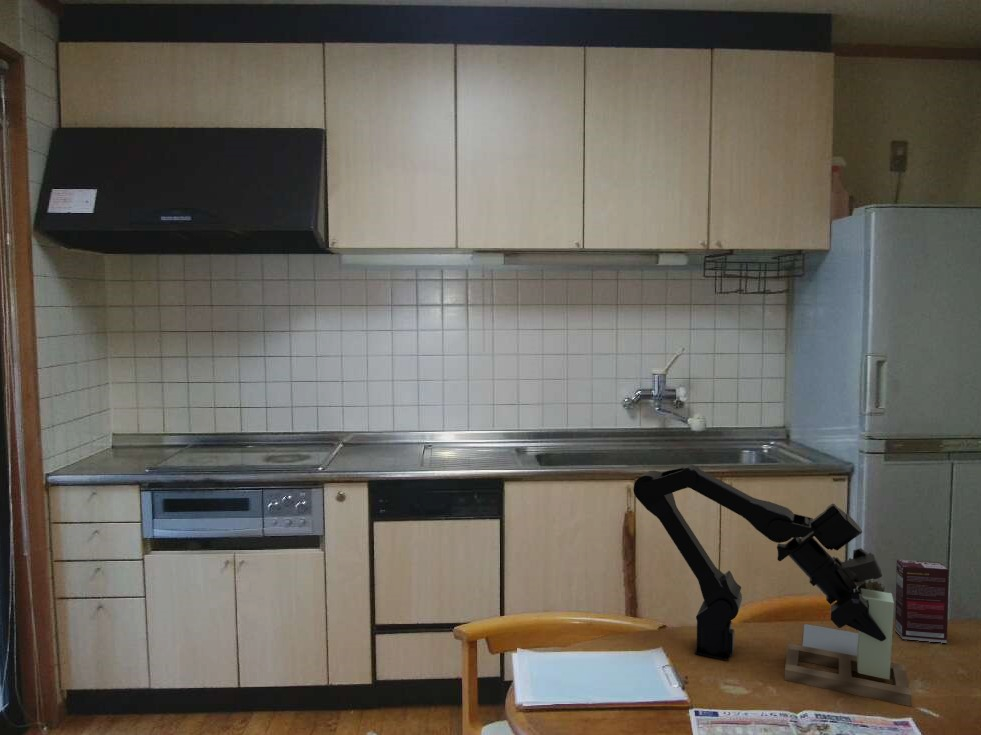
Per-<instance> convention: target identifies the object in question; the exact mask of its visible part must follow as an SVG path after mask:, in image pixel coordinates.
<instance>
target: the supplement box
mask: <svg viewBox="0 0 981 735" xmlns="http://www.w3.org/2000/svg"><path fill="white" fill-rule="evenodd" d="M895 569H896V570H895V571H896V573H895V574H896V575H895V576H896V577H895V578H896V579H895V612H894V613H895V616H894V617H895V618H894V619H895V620H894V621H895V622H894V632H895V631H896V632H897V633H898V634H899V635H900V636H901V637H902V639H910V640H919V641H929V642H928V643H930V642H941V643H940V644H942V643H948V622H949V621H948V620H949V619H948V617H949V572H950V571H949V570H950V569H949V568H948V567H946V566H945V565H944V564H942V563H941V562H938V561H926V560H924V561H923V560H911V559H909V560H908V559H896V568H895ZM896 632H895V633H896ZM897 633H896V634H897ZM898 634H897V635H898ZM899 635H898V636H899ZM900 636H899V637H900ZM902 639H901V640H902ZM919 641H918V642H919Z"/></svg>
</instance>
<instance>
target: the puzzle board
mask: <svg viewBox="0 0 981 735" xmlns="http://www.w3.org/2000/svg"><path fill="white" fill-rule="evenodd" d="M785 658H786V659H785V666H784V681H788V682H793V683H796V684H802V685H807V686H812V687H816V688H820V689H825V690H831V691H836V692H841V693H845V694H850V695H855V696H860V697H863V698H864V697H865V698H869V699H874V700H879V701H884V702H888V703H894V704H898V705H903V706H907V707H912V693H911V688H910V684H909V681H908V680H909V679H908V674H907V670H906V666H905V664H902V663H901V664H900V663H895V662H893V661H891V663H890V679H891V678H893V679H892V681H893V684H890V683H885V682H879V681H875V680H870V679H865V678H860V677H855V676H853V675H852V672H855V673H858V669H857V656H854V655H849V654H844V653H838V652H833V651H827V650H822V649H817V648H811V647H806V646H802V644H801V645H799V644H794V643H789V642H788V645H787V651H786V657H785ZM799 662H805V663H810V664H816V665H820V666H825V667H831V668H835V669H838V673H835V672H829V671H824V670H819V669H815V668H809V667H804V666H801V665H800V666H799ZM851 670H852V671H851Z"/></svg>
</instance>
